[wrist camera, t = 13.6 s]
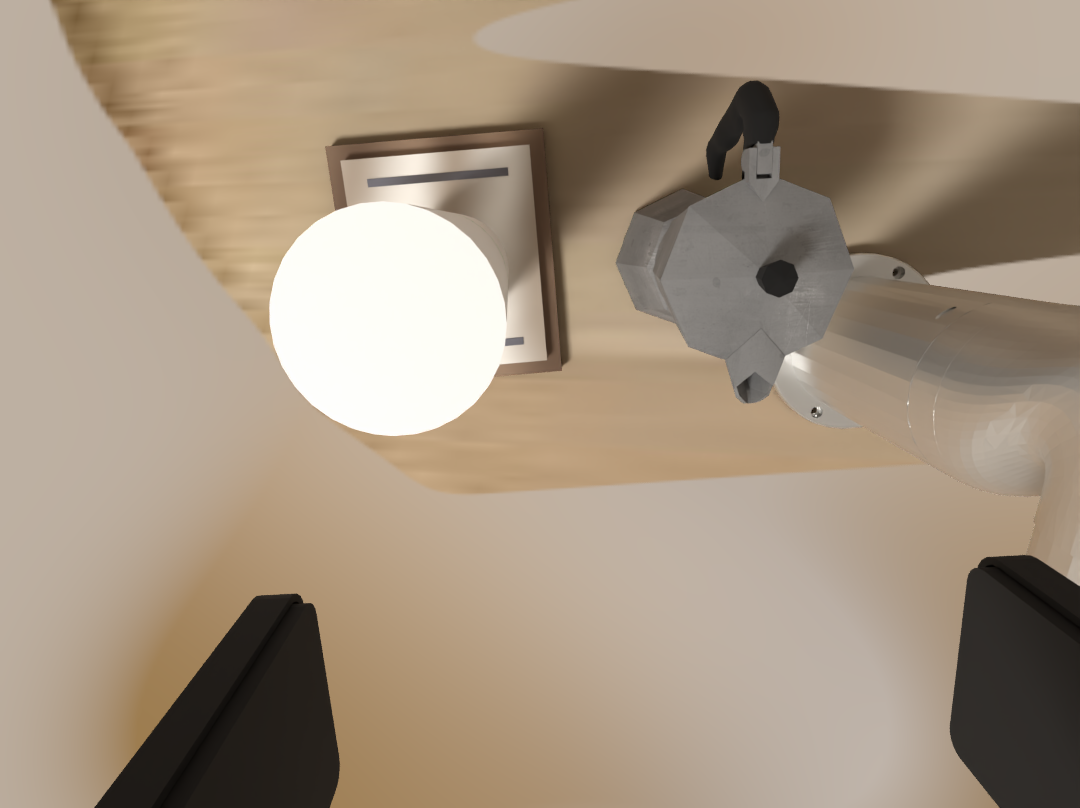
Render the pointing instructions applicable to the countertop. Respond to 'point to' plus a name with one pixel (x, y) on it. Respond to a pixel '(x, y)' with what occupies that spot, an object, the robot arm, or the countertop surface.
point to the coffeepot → (741, 255)
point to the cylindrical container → (391, 315)
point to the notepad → (475, 215)
